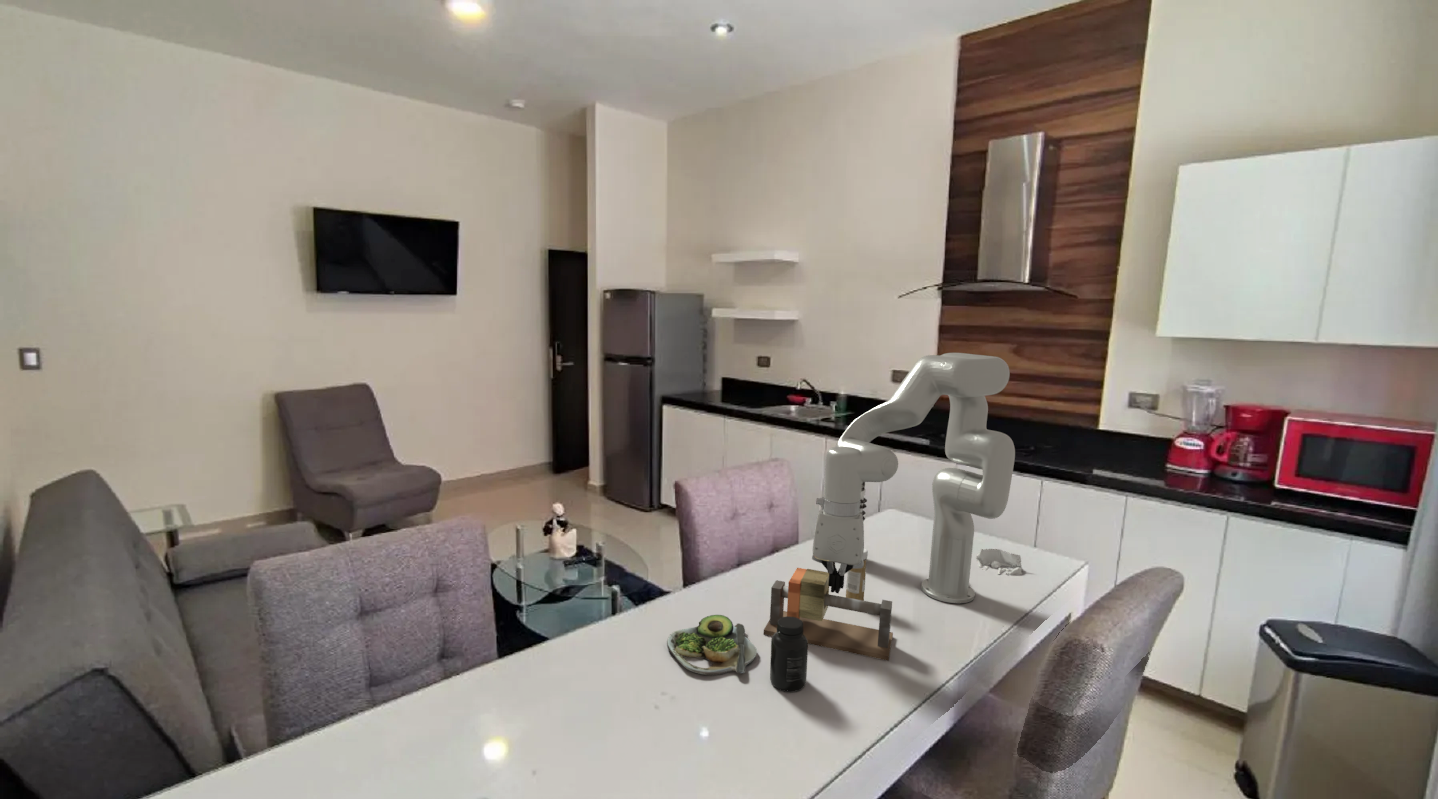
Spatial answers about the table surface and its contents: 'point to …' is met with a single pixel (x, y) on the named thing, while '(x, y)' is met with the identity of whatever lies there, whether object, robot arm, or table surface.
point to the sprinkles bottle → (857, 581)
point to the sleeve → (813, 594)
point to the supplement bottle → (789, 655)
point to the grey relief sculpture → (999, 561)
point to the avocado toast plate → (713, 646)
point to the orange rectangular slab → (794, 593)
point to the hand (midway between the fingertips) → (835, 590)
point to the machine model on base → (839, 625)
